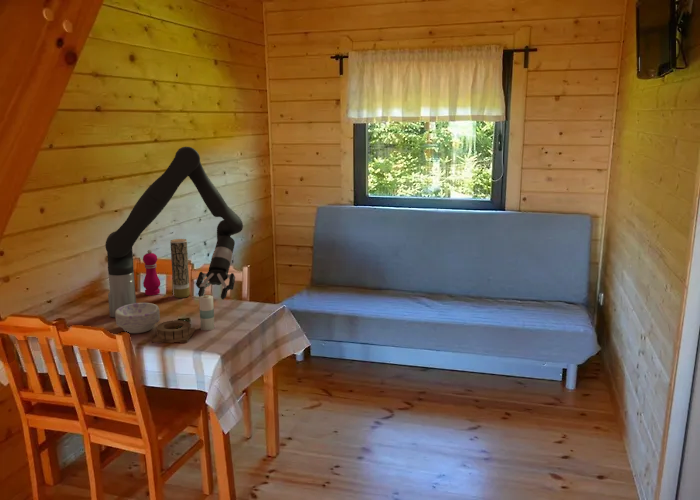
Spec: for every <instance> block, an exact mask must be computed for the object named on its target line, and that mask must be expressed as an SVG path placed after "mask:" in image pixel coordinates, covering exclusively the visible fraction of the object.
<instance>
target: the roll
mask: <svg viewBox="0 0 700 500" xmlns="http://www.w3.org/2000/svg"><path fill="white" fill-rule="evenodd" d="M198 300H199V301H198V302H199V322H200V326H199V327H200V330H201V331H212V330H214V329H215V308H214V296H213V295H209V294H205V295H203V296H200V297H199V296H198Z"/></svg>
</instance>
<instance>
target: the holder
mask: <svg viewBox="0 0 700 500" xmlns="http://www.w3.org/2000/svg"><path fill="white" fill-rule="evenodd" d="M178 325H179V326H182V327H181V328H178V329H175V328H176V326H178ZM191 325H192V324H191V323H190V322H189V321H186V320H183V319H182V320H179V319H178V320H177V319H175V320H174V319H173V320H169V321H168V320H167V321H163V322H161V323H159V324H157V325H156V329H155V330H156V335H155V336H154V337H153V338H152V339H151V343H152V342H163V343H166V344H167V343H171V344H175V343H174V342H180V343H179V344H181V343H183V344H184V343H186V344H187V343H188V342H189V340H190V339H191V337H192V335H194V332H195V331H196V328H195V327H191Z"/></svg>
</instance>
